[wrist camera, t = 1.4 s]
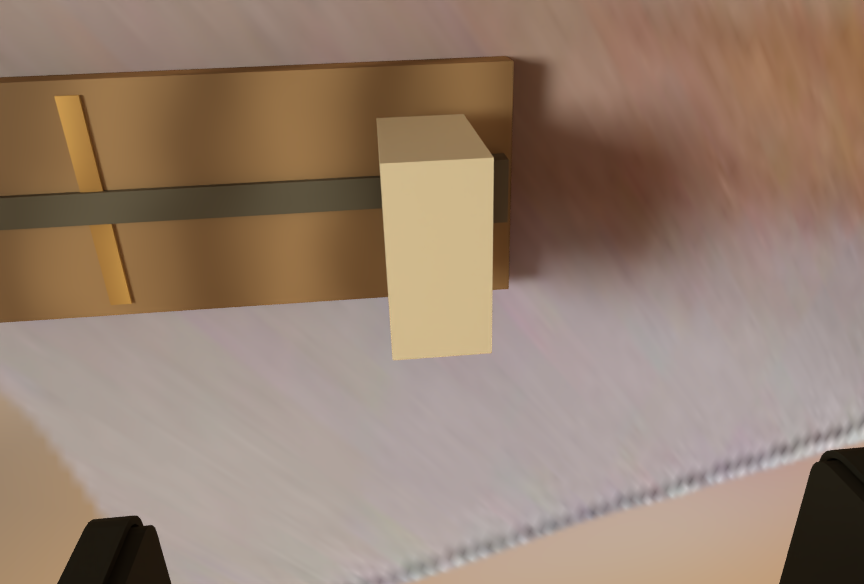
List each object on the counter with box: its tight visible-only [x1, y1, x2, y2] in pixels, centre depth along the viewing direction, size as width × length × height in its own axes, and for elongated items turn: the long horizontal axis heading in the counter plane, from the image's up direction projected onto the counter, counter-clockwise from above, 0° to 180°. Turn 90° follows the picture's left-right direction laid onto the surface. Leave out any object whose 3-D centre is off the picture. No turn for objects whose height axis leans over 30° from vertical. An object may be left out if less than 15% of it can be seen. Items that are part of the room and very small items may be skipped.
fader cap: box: [376, 114, 494, 360], centre depth 22 cm, size 3×6×7 cm, turn 2°
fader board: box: [0, 56, 514, 323], centre depth 25 cm, size 22×9×2 cm, turn 92°
